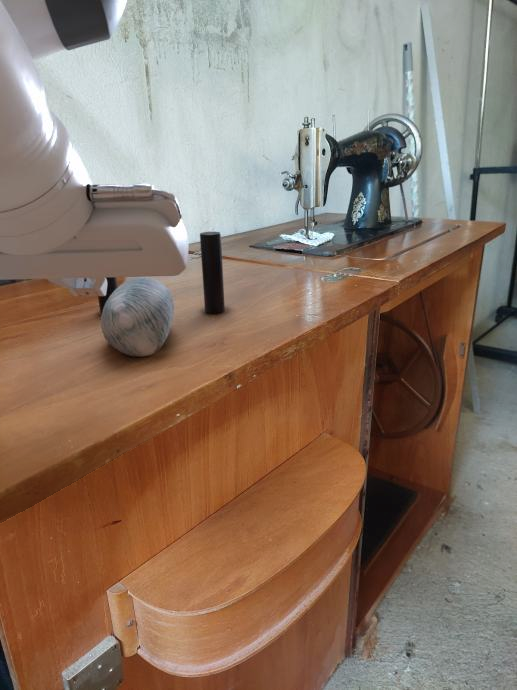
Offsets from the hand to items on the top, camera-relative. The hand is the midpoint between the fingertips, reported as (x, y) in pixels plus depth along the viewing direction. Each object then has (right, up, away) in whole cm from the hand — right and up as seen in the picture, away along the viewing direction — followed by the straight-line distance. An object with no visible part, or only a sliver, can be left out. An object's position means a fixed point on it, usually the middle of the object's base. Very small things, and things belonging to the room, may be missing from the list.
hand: (91, 289), depth 49 cm
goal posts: (+1, 0, +30) cm, 30 cm away
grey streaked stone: (+1, -5, +18) cm, 19 cm away
